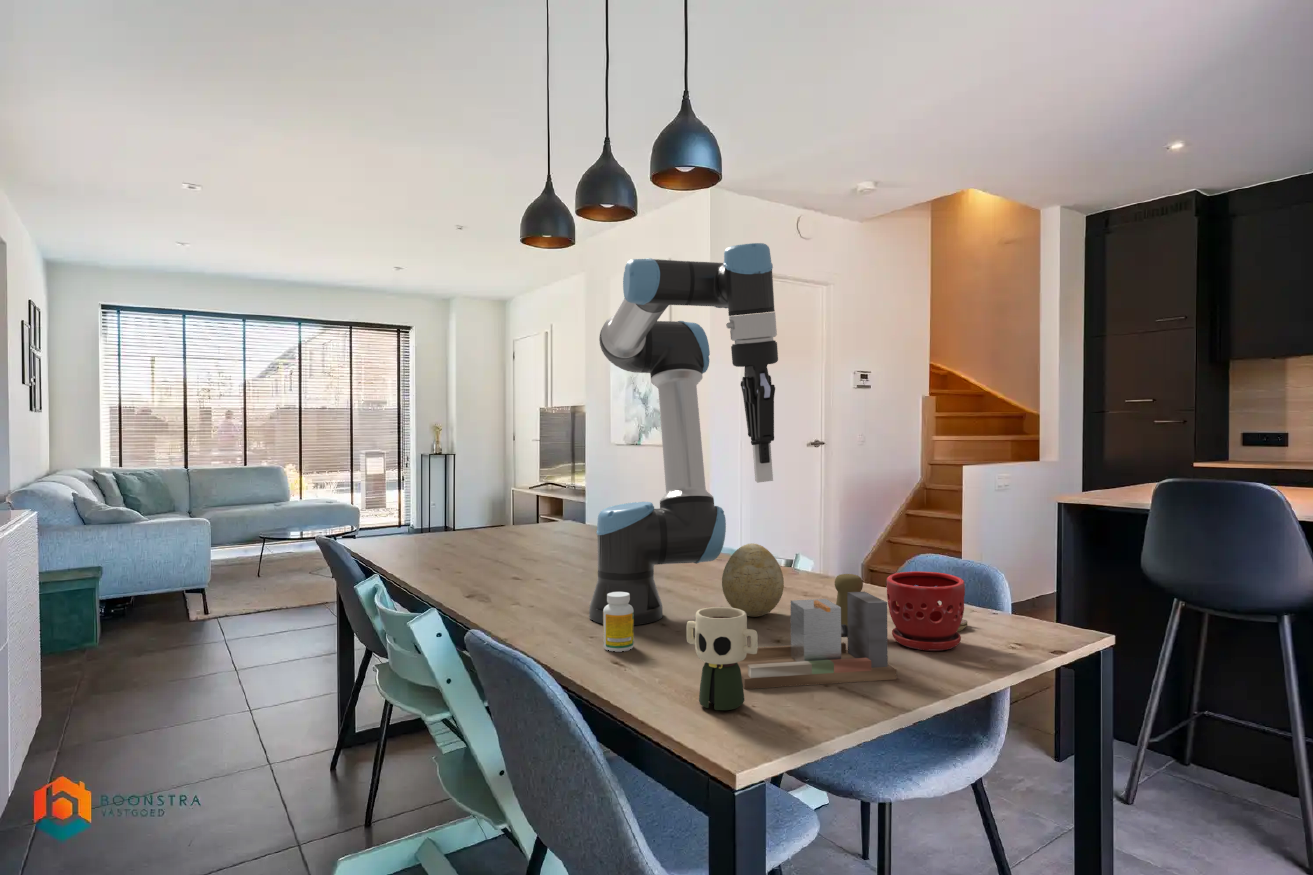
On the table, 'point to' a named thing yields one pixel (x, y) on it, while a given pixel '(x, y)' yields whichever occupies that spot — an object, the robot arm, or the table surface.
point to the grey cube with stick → (816, 630)
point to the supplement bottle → (618, 623)
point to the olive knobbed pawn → (843, 586)
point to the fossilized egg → (753, 580)
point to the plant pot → (926, 609)
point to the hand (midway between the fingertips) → (764, 480)
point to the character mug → (721, 654)
